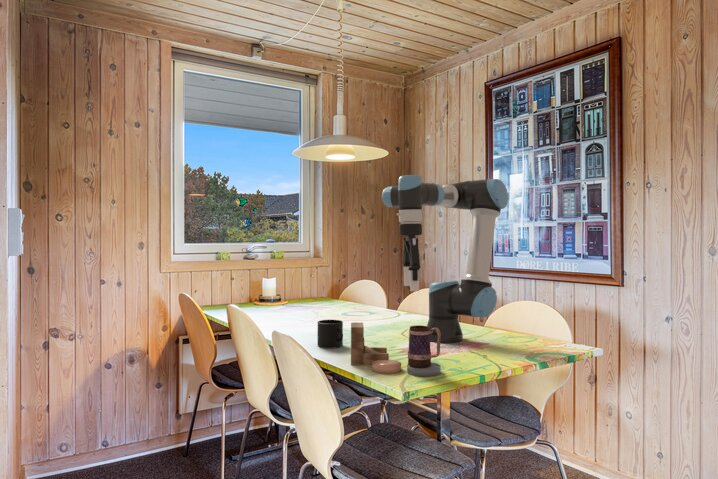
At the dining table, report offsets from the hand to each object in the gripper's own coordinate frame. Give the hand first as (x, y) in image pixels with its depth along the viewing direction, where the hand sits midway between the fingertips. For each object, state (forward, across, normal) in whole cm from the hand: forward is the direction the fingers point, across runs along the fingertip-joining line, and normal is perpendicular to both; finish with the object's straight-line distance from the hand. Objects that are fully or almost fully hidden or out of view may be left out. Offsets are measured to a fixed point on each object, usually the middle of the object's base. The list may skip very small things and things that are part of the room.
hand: (411, 288), depth 163 cm
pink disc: (+24, +9, -9) cm, 27 cm away
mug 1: (+24, -24, -26) cm, 43 cm away
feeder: (+24, -1, -14) cm, 28 cm away
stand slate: (+24, +13, +1) cm, 27 cm away
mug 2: (+22, +13, +2) cm, 26 cm away
